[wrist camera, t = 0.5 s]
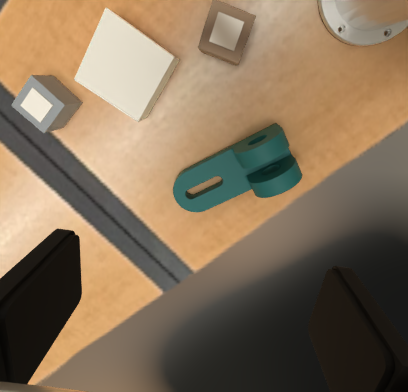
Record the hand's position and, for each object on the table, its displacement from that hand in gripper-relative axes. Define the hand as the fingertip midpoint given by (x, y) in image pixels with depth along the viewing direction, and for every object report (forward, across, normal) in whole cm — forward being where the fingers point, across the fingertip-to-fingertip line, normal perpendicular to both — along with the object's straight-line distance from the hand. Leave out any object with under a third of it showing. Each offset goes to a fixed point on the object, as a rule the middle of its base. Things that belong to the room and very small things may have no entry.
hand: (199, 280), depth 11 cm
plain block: (+33, +12, -7) cm, 36 cm away
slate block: (+33, +23, -2) cm, 40 cm away
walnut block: (+32, 0, -12) cm, 35 cm away
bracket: (+33, -3, +5) cm, 34 cm away
